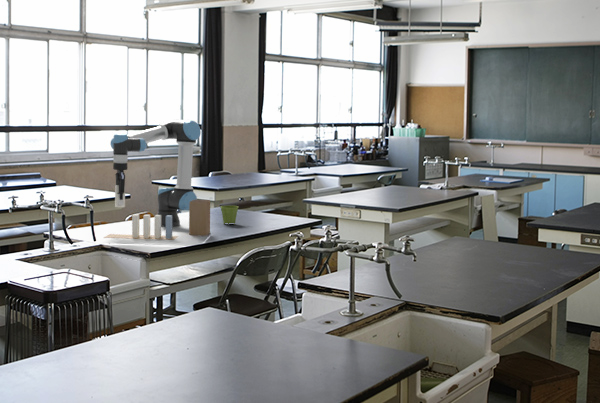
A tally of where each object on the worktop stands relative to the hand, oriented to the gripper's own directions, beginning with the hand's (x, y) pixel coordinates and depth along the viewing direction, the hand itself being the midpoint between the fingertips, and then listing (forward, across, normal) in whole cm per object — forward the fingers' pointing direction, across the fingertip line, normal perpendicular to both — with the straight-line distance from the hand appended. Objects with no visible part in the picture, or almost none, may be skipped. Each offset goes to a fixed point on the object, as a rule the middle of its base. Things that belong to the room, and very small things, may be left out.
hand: (120, 205), depth 373 cm
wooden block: (+17, +12, +42) cm, 47 cm away
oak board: (+17, +13, +9) cm, 23 cm away
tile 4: (+16, +17, +17) cm, 29 cm away
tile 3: (+16, +14, +11) cm, 24 cm away
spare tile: (+1, 0, 0) cm, 1 cm away
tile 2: (+16, +11, +6) cm, 21 cm away
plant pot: (+16, -23, +73) cm, 79 cm away
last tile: (+16, +20, +22) cm, 34 cm away
